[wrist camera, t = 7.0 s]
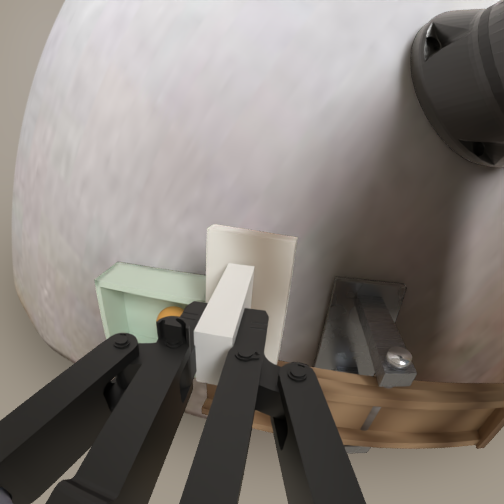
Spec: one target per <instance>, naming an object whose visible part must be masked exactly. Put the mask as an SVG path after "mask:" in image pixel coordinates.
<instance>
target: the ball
mask: <svg viewBox="0 0 504 504" xmlns="http://www.w3.org/2000/svg"><path fill="white" fill-rule="evenodd" d="M183 311H184V309H182V308H180V307H176V306H170V307H167V308H165V309H163V310H162V311H161V312H160V313H159V315H158V317H157V320H156V322H157V321H158V320H159V319H161V318H163V317H167V316H179V317H180V316H181V314H182V313H183ZM156 327H157V326H156Z"/></svg>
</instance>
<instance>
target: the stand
mask: <svg viewBox="0 0 504 504" xmlns="http://www.w3.org/2000/svg"><path fill="white" fill-rule="evenodd" d="M405 292H406V286H405V285H404V284H399V283H390V282H381V281H372V280H363V279H354V278H346V277H337V276H336V277H335V281H334V286H333V291H332V295H331V299H330V304H329V308H328V312H327V316H326V321H325V325H324V329H323V333H322V336H321V340H320V344H319V348H318V351H317V355H316V359H315V362H314V366H313V367H315V368H320V369H326V370H332V371H339V372H345V373H352V374H359V375H367V376H373V375H374V373H375V374H376V378H377V382H378V386H379V387H399V386H410V385H411V384H412V382H413V380H414V378H415V376H416V374H417V372H416V370H415V367H414V365H413V363H412V355H411V353H410V352H409V351H408V350H407V349H406V347H405V344H404V342H403V340H402V338H401V336H400V333H399V331H398V329H397V327H396V325H395V321H396V318H397V316H398V313H399V310H400V307H401V304H402V301H403V298H404V295H405ZM344 447H345V450H346V452H347V453H350V454H353V453H367V452H368V451H369V449H370V448H371V447H363V446H352V445H344Z"/></svg>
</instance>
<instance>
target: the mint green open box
mask: <svg viewBox="0 0 504 504" xmlns="http://www.w3.org/2000/svg"><path fill="white" fill-rule="evenodd" d="M94 281H95V287H96V292H97V298H98V303H99V308H100V313H101V318H102V323H103V327H104V331H105V336H106V339H108V338H109V337H111V336H112V335H114V334H117V333H129V334H132V335H134V336H135V337H136V338H137V340H138V343H155V342H157V340H158V334H157V327H156V320H157V317H158V315H159V313H160V312H161V311H162V310H163V309H165V308H167V307H170V306H176V307H180V308H182V309H185V308H186V306H187V305H189V304H190V303H192V302H193V301H198V302H204V303H206V275H199V274H192V273H186V272H179V271H173V270H166V269H160V268H153V267H147V266H141V265H135V264H129V263H123V262H117V263H116V264H114V265H113V266H112V267H110V268H109V269H108V270H106V271H105V272H104V273H103V274H101V275H100V276H99V277H97V278H96V279H95V280H94ZM194 377H195V378H196V374H195V376H194Z"/></svg>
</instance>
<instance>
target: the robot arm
mask: <svg viewBox="0 0 504 504" xmlns="http://www.w3.org/2000/svg"><path fill="white" fill-rule="evenodd" d="M411 72H412V78H413V83H414V87H415V90H416V94H417V97H418V99H419V102H420V104H421V107H422V109H423V111H424V113H425V115H426V117H427V118H428V120H429V122H430V123H431V125H432V126H433V128H434V130H435V131H436V132H437V134H438V135H439V136H440V137H441V139H442V140H443V141H444V142H445V143H446V144H447V145H448V146H449V147H450V148H451V149H452V150H454V151H455V152H456V153H457V154H459V155H460V156H462V157H463V158H465V159H467V160H469V161H471V162H473V163H476V164H480V165H485V166H490V167H504V0H501V1H499V2H497V3H496V4H494V5H492V6H490V7H489V8H487V9H471V10H456V11H448V12H444V13H442V14H439V15H437V16H435V17H434V18H433V19H431V20H430V21H429V22H428V23H427V24H425V25H424V26H423V27H422V28H421V29H420V31H419V32H418V34H417V35H416V37H415V40H414V43H413V46H412V52H411ZM254 267H255V266H248V265H240V264H232V263H229V264H228V266H227V268H226V270H225V271H224V273H223V275H222V277H221V279H220V281H219V283H218V285H217V287H216V289H215V291H214V293H213V295H212V297H211V298H210V300H209V302H208V303H204V302H198V301H193V302H192V303H190V304H189V305H187V306H186V308H185V309H184V311H183V313H182V314H181V316H180V317H179V316H167V317H163V318H161V319H159V320H158V321H157V322H156V326H157V334H158V340H157V342H155V343H138V340H137V338H136V337H135V336H134V335H132V334H129V333H117V334H114V335H112V336H111V337H109V338H108V339H106V340H105V341H104V342H102V343H101V344H100V345H98V346H97V347H96V348H94V349H93V350H92V351H90V352H89V353H88V354H86V355H85V356H84V357H82V358H81V359H80V360H79V361H77V362H76V363H75V364H73V365H72V366H71V367H69V368H68V369H67V370H65V371H64V372H63V373H61V374H60V375H59V376H57V377H56V378H55V379H54V380H52V381H51V382H50V383H48V384H47V385H46V386H44V387H43V388H42V389H40V390H39V391H38V392H37V393H35V394H34V395H33V396H32V397H30V398H29V399H28V400H26V401H25V402H24V403H22V404H21V405H20V406H19V407H17V408H16V409H15V410H13V411H12V412H11V413H10V414H8V415H7V416H6V417H5V418H3V419H2V420H1V421H0V504H31V503H32V502H34V501H35V500H36V499H37V498H39V497H40V496H41V495H42V494H43V493H44V492H45V491H46V490H47V489H48V488H49V487H50V486H51V485H52V484H53V483H55V482H56V481H57V480H58V479H59V478H60V477H61V476H62V475H63V474H64V473H65V472H66V471H67V470H68V469H69V468H70V467H71V466H72V465H73V464H74V463H75V462H76V461H77V460H78V459H79V458H80V457H81V456H82V455H83V454H84V453H85V452H86V451H87V450H88V449H89V448H90V447H91V446H92V447H91V449H90V450H89V452H88V454H87V456H86V457H85V459H84V461H83V462H82V464H81V466H80V468H79V470H78V471H77V473H76V475H75V476H74V477H73V478H72V479H68V480H62V481H61V482H59V483H58V484H57V486H56V487H55V488H54V490H53V492H52V493H51V495H50V497H49V499H48V501H47V502H46V504H148V502H149V499H150V497H151V494H152V492H153V489H154V487H155V484H156V482H157V479H158V477H159V474H160V471H161V469H162V466H163V464H164V461H165V459H166V456H167V454H168V451H169V449H170V446H171V444H172V441H173V438H174V436H175V433H176V430H177V428H178V426H179V423H180V421H181V418H182V416H183V413H184V411H185V408H186V406H187V403H188V401H189V398H190V395H191V393H192V390H193V379H194V376H195V374H196V381H198V382H203V383H208V384H213V385H217V388H216V391H215V395H214V398H213V401H212V404H211V407H210V410H209V413H208V417H207V420H206V423H205V426H204V429H203V432H202V435H201V439H200V442H199V445H198V448H197V451H196V454H195V457H194V460H193V464H192V466H191V469H190V473H189V475H188V479H187V482H186V485H185V488H184V491H183V494H182V497H181V500H180V503H179V504H238V501H239V496H240V491H241V486H242V480H243V475H244V469H245V464H246V459H247V454H248V448H249V442H250V437H251V431H252V425H253V420H254V414H255V410H257V411H259V412H261V413H264V414H266V415H269V416H270V419H271V424H272V429H273V433H274V439H275V444H276V448H277V453H278V458H279V462H280V467H281V472H282V477H283V481H284V486H285V490H286V495H287V499H288V504H366V502H365V500H364V497H363V494H362V492H361V489H360V487H359V484H358V481H357V478H356V476H355V473H354V471H353V468H352V466H351V463H350V460H349V458H348V455H347V452H346V450H345V447H344V445H343V442H342V440H341V437H340V434H339V432H338V429H337V427H336V424H335V422H334V419H333V416H332V414H331V411H330V409H329V406H328V404H327V401H326V399H325V396H324V394H323V391H322V389H321V386H320V384H319V381H318V379H317V376H316V374H315V372H314V370H313V369H312V368H311V367H309V366H308V365H306V364H303V363H298V362H292V363H287V364H285V365H284V366H282V367H280V366H278V365H275V364H273V363H271V362H270V361H269V360H268V359H267V358H266V357H265V354H264V349H265V343H266V336H267V328H268V321H269V316H268V314H267V313H266V311H264V310H257V309H251V300H252V289H253V278H254ZM114 377H115V378H114ZM113 378H114V379H113ZM112 379H113V380H112Z"/></svg>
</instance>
